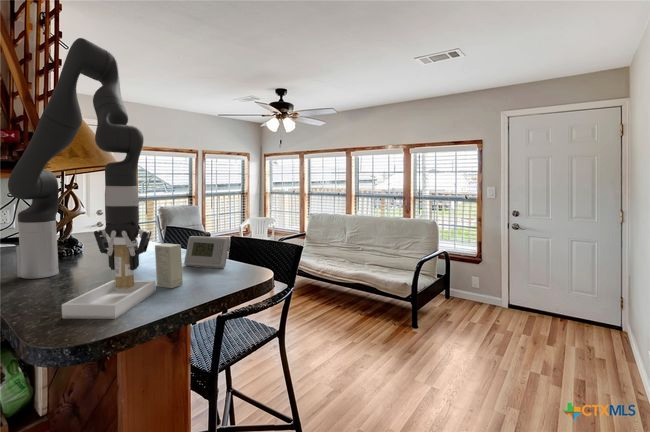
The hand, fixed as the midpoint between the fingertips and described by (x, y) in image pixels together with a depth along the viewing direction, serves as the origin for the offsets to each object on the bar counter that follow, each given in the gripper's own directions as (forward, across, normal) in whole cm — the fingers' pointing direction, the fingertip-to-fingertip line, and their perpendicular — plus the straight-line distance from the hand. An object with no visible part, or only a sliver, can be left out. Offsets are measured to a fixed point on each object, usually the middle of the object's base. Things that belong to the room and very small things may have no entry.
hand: (124, 269), depth 93 cm
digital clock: (+8, +10, +36) cm, 38 cm away
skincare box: (+8, +7, +11) cm, 15 cm away
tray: (+7, 0, -5) cm, 9 cm away
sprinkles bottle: (+5, 0, 0) cm, 5 cm away
